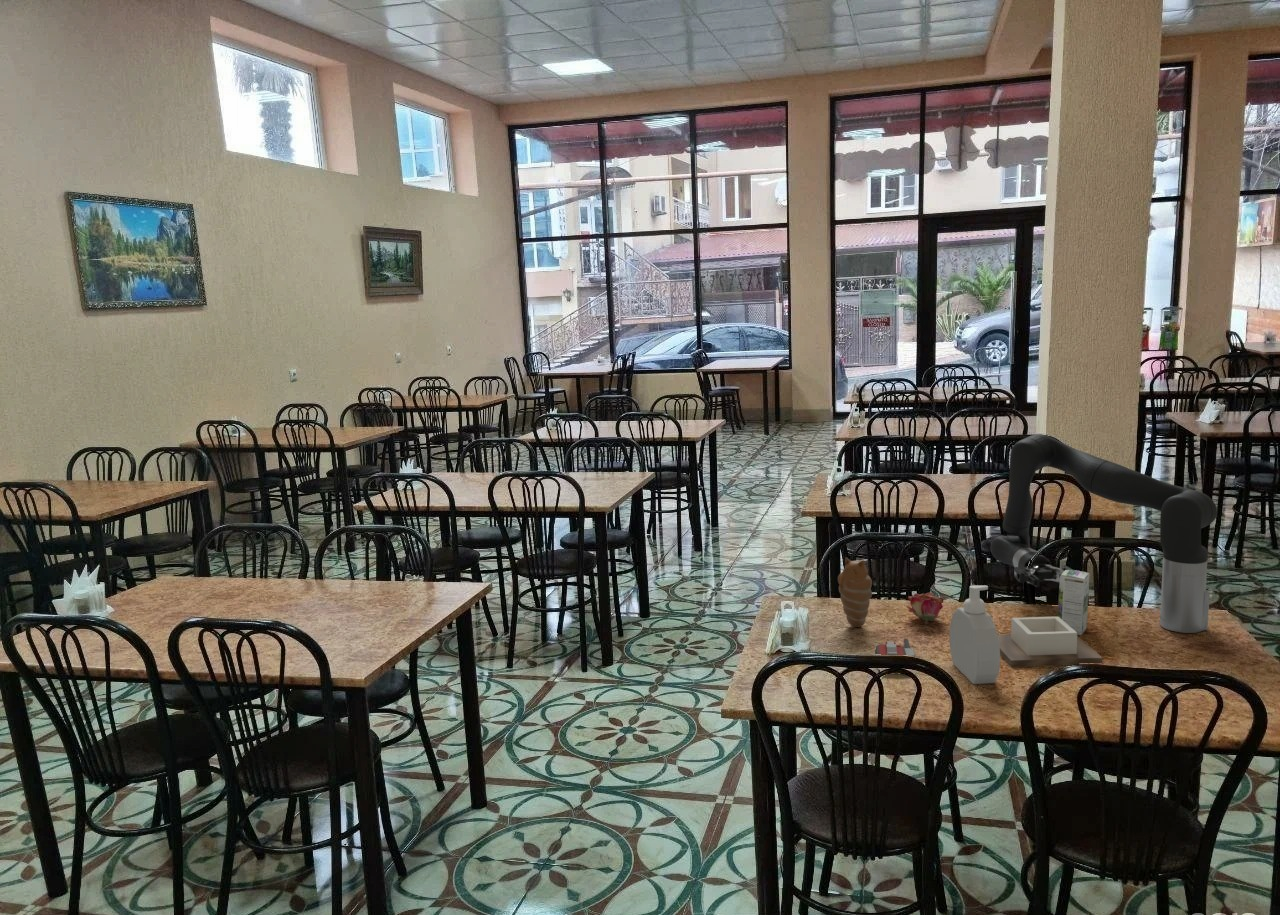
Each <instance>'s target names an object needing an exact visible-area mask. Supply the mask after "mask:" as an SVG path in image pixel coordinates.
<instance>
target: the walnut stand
mask: <svg viewBox="0 0 1280 915" xmlns="http://www.w3.org/2000/svg"><path fill="white" fill-rule="evenodd" d="M997 635H998V639H999V645H1000V657H1002V659H1004V661H1005V662H1006V663H1007V665H1009V667H1013V668H1015V667H1017V668H1018V667H1020V668H1021V667H1048V666H1049V667H1051V666H1073V665H1072V664H1079V663H1102V664H1103V657H1102V656H1101V655H1100V654H1099V653H1098V652H1096V650H1095V649H1093V648H1092V647H1091V646H1089V644H1087V643H1086V642H1085V641H1084V640H1082V639H1081V637H1079V635H1077V654H1059V655H1027V654H1026V653H1025V652H1024V651H1023V650H1022V649H1021V648H1020V647H1019V646H1018V645H1017V644H1016V643H1015V642H1014V641H1013V640H1012V639H1011V633H1004V634H1003V633H1000V634H998V633H997Z"/></svg>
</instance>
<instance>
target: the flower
mask: <svg viewBox="0 0 1280 915" xmlns="http://www.w3.org/2000/svg"><path fill="white" fill-rule="evenodd" d="M907 598H908V601H909V604H910V605H911V606H910V605H906V608H907V609H908V612H910V613H912V614H913V615H915V616H916V617H917V618H918V619H920V620H924V625H925V626H928V625H929V621H930V622H932V621H937V619H939V618H940V617H941V615H940V616H938V615H939V613H940V612H941V610H942V609H943V607H944V606H943V603H944V597H943V596H940V597H937V596H935V595H934V593H932V592H931V591H929V592H927V593H924V592H923V593H919V594H918V593H915V594H913V595H911V596H910V595H908V596H907ZM945 615H946V614H943V616H945Z"/></svg>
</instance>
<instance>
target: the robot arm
mask: <svg viewBox="0 0 1280 915" xmlns="http://www.w3.org/2000/svg"><path fill="white" fill-rule="evenodd" d="M1046 467H1048V468H1049V467H1050V468H1053V469H1057V470H1059V471H1062V472H1065V473H1067V474H1069V475H1071V477H1073V478H1074V479H1075V480H1076V482H1077V483H1078V484H1079V485H1080V486H1081V487H1082V488H1083V489H1084V490H1085V491H1087V492H1088V493H1090V494H1092V495H1093V494H1094V495H1095V496H1098V497H1101V498H1103V499H1105V500H1108V501H1111V502H1116V503H1121V504H1124V505H1130V506H1131V505H1132V506H1136V507H1137V506H1139V507H1144V508H1149V509H1153V510H1156V511H1159V512H1160V516H1159V520H1160V521H1159V523H1160V524H1159V525H1160V526H1159V531H1160V532H1159V535H1160V536H1159V537H1160V538H1159V541H1160V542H1159V543H1160V546H1161V548H1162V553H1163V555H1162V575H1161V576H1162V577H1161V591H1160V592H1161V594H1160V596H1161V597H1160V614H1159V626H1160V627H1162V628H1163V629H1165V630H1168V631H1172V632H1176V633H1183V634H1196V633H1201V632H1203V631H1208V626H1209V610H1210V609H1209V607H1210V594H1211V593H1210V592H1209V591H1208V590H1207V577H1208V576H1207V574H1208V561H1209V560H1208V559H1209V558H1208V557H1209V552H1208V549H1207V547H1206V546H1203V545H1202V529H1203V528H1206V527H1207V526H1210V525H1211V524H1212V523H1214V521H1215V520H1216V518H1217V516H1218V507H1217V505H1216V503H1215V501H1214V500H1213V499H1212V498H1211V497H1210V496H1209V495H1208V494H1205V493H1204V492H1201V491H1199V490H1195V489H1191V488H1187V487H1183V486H1180V485H1179V486H1178V485H1176V484H1172V483H1168V482H1165V481H1161V480H1159V479H1156V478H1154V477H1152V476H1149V475H1147V474H1144V473H1141V472H1139V471H1136V470H1133V469H1130V468H1128V467H1127V466H1124V465H1121V464H1118V463H1116V462H1112V461H1110V460H1106V459H1103V458H1101V457H1098V456H1095V455H1092V454H1091V453H1087V452H1084V451H1082V450H1079V449H1076V448H1074V447H1072V446H1069V445H1067V444H1066V443H1064V442H1062V441H1060V440H1057V439H1056V438H1054V437H1051V436H1049V435H1046V434H1042V433H1037V434H1032V435H1029V436H1027V437H1025V438H1022V439H1020V440H1018V441H1017V442H1015V444H1014V445H1013V446H1012V447H1011V450H1010V458H1009V478H1008V480H1009V481H1008V482H1009V483H1008V484H1009V485H1008V495H1007V496H1008V497H1007V504H1006V507H1005V512H1004V516H1003V521H1002V529H1003V530H1004V532H1006V533H1007V534H1009V535H999V536H996V537H994V538H993V540H991V543H990V548H989V549H990V553H991V554H992V557H993V558H995V560H997V561H998V562H1000V563H1003V564H1006V565H1009V566H1012V567H1013V573H1014V574H1013V576H1014V578H1015V579H1016V580H1017V581H1018V582H1019V583H1021V584H1023V583H1025V582H1026V583H1027V584H1030V585H1032V586H1034V587H1035V588H1040V583H1041V582H1044V581H1051V582H1052V581H1053V582H1056V583H1060V576H1061V575H1062V573H1063V572H1064V571H1065V570H1073V569H1072V568H1071V567H1069V566H1067V565H1062V566H1061V568H1060V567H1056V566H1053V565H1052V563H1051V561H1050V560H1049V559H1048V558H1047V557H1046V556H1044V555H1043V554H1042V555H1039V556H1038V554H1037V555H1036V556H1034V555H1035V554H1036V553H1037V552H1038V551H1037V550H1035V549H1034V548H1032V547H1031V544H1030V524H1031V521H1032V516H1033V511H1034V502H1033V498H1032V494H1031V483H1032V480H1033V478H1034V475H1035V474H1036V471H1037V472H1038V471H1039V470H1041V469H1044V468H1046ZM1033 556H1034V558H1035V557H1037V559H1036V560H1035V561H1034V562H1033V563H1032V560H1033V559H1034V558H1033V559H1032V560H1031V558H1032V557H1033ZM1029 561H1030V564H1029V566H1028V563H1029ZM1031 563H1032V565H1031ZM1027 566H1028V568H1027ZM1030 566H1031V567H1030Z"/></svg>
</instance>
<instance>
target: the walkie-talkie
mask: <svg viewBox="0 0 1280 915" xmlns="http://www.w3.org/2000/svg"><path fill="white" fill-rule="evenodd" d="M903 643H904V646H903V645H901V644H896V641H887V640H886V641H885V644H881V643H880V644H877V645H875V650H874V655H875V654H881V655H908V656H914V657H915V658H916V655H915V649H914V648H913V647H911V646H910V642H909V639H908V638H904V639H903ZM879 672H880V670H878V673H879Z"/></svg>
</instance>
